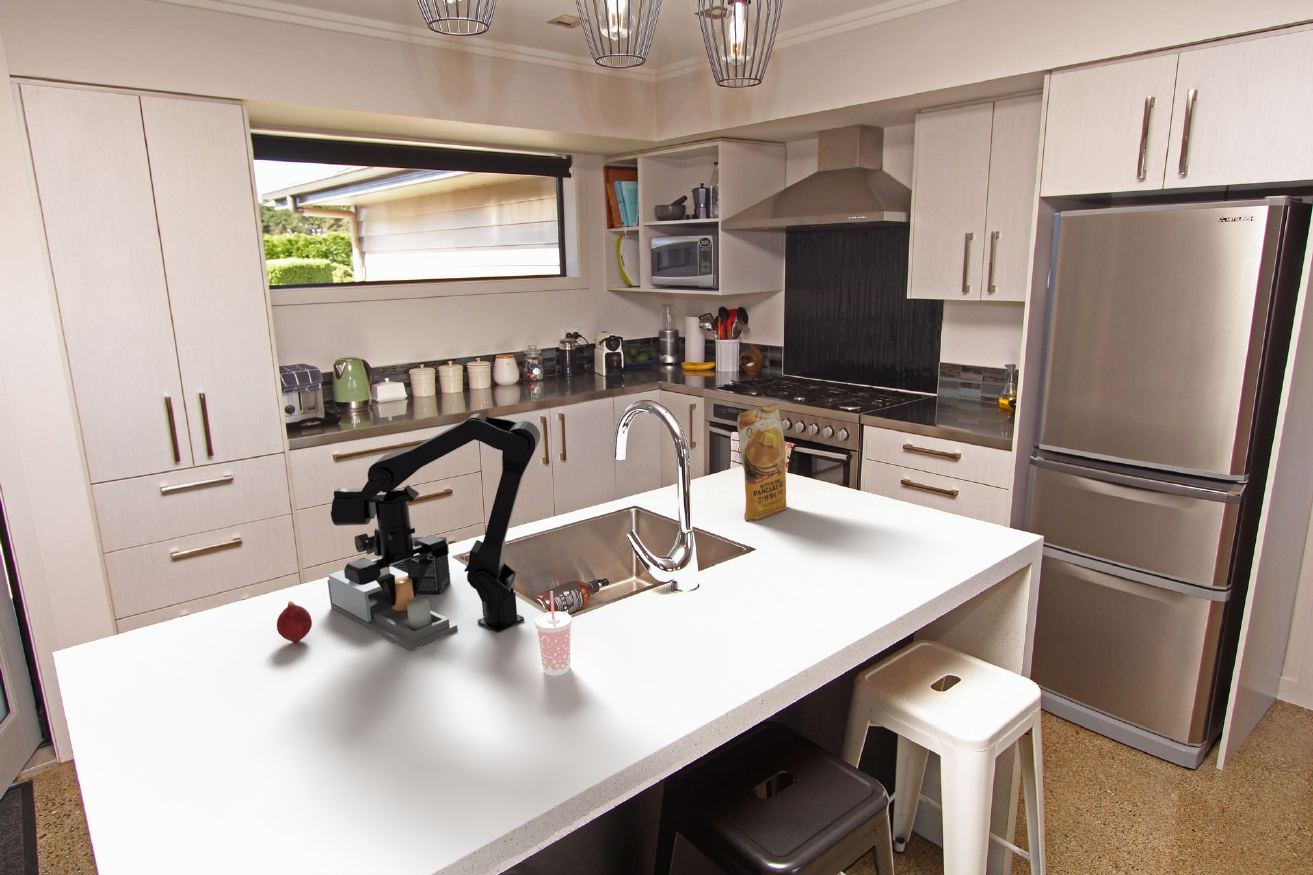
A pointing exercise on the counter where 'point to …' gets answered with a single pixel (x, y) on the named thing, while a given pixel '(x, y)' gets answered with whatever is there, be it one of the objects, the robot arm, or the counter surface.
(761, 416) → the pancake mix bag
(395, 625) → the housing
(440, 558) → the small box
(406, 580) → the orange rounded tapered piece
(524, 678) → the counter surface
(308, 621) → the onion
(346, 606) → the lid
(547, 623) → the beverage cup
